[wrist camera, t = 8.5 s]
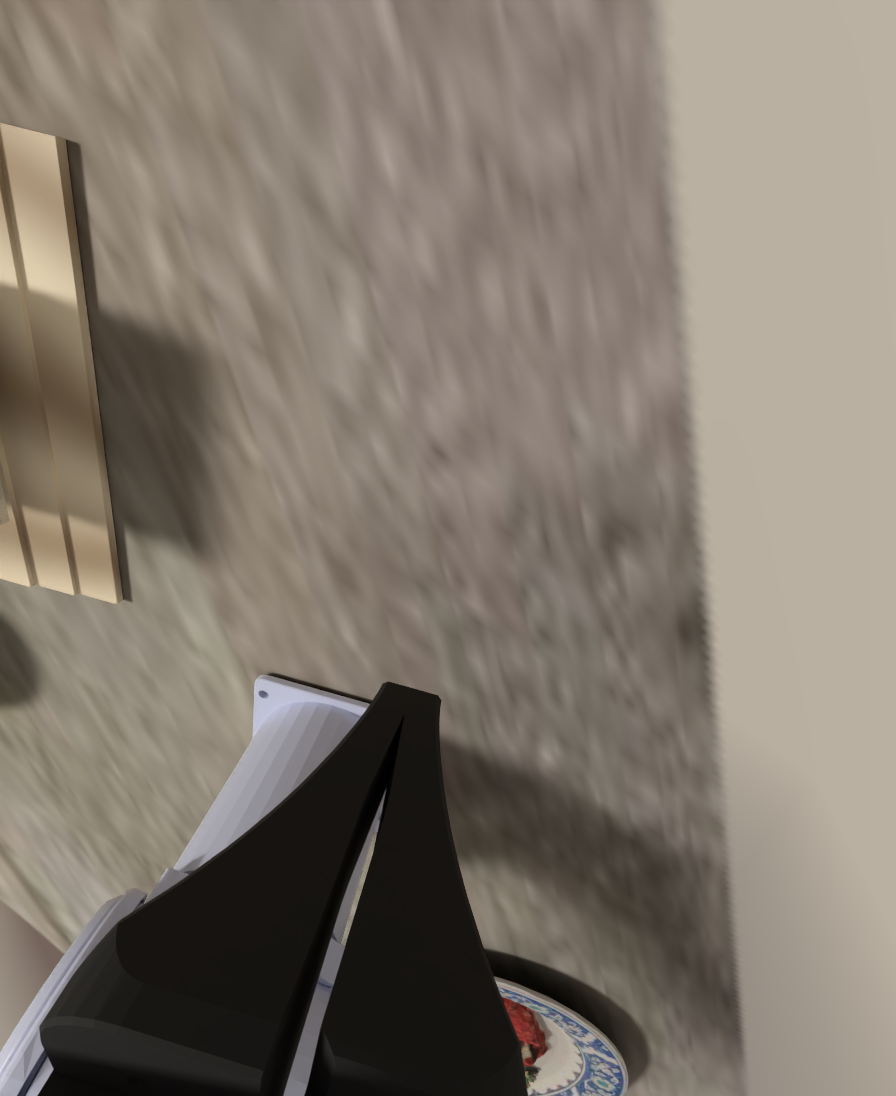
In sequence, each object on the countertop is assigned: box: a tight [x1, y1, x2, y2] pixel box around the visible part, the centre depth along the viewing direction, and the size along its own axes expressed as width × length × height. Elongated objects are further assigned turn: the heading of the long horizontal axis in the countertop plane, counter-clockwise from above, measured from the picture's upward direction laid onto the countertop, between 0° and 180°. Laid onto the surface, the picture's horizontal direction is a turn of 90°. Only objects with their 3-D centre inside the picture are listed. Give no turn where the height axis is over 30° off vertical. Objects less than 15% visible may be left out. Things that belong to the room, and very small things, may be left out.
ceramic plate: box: [494, 976, 628, 1096], centre depth 40 cm, size 26×26×3 cm
